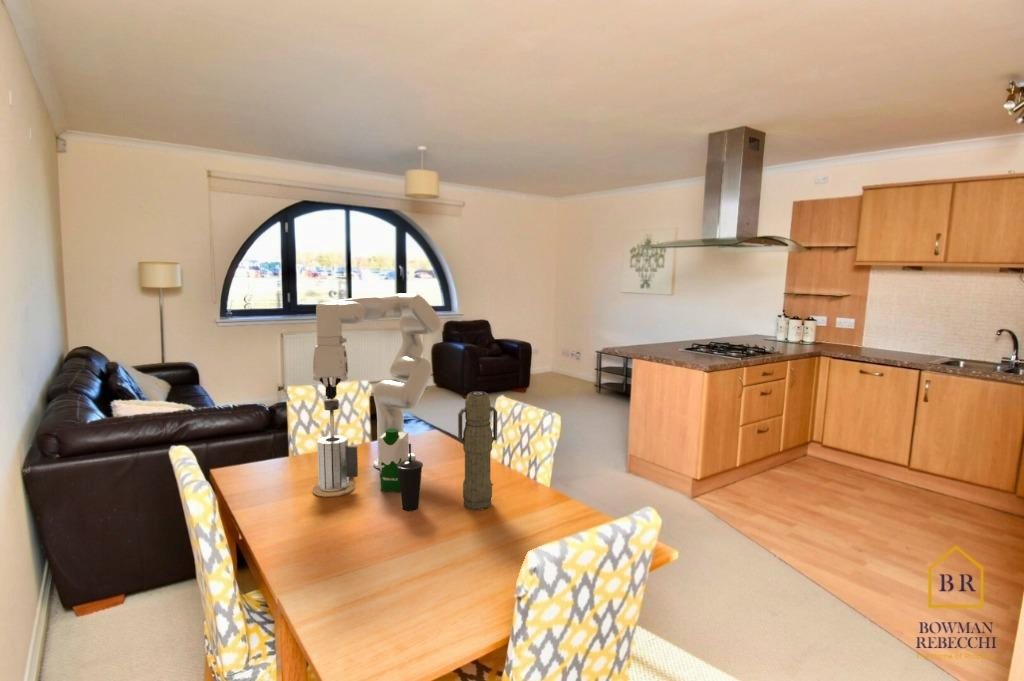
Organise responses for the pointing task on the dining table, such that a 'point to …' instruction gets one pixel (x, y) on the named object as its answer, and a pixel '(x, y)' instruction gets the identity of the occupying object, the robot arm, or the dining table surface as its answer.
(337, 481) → the cafetiere
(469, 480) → the thermos
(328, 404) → the plunger
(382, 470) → the milk carton
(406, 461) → the drinking cup
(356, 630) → the dining table surface
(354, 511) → the dining table surface
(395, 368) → the robot arm
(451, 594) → the dining table surface
